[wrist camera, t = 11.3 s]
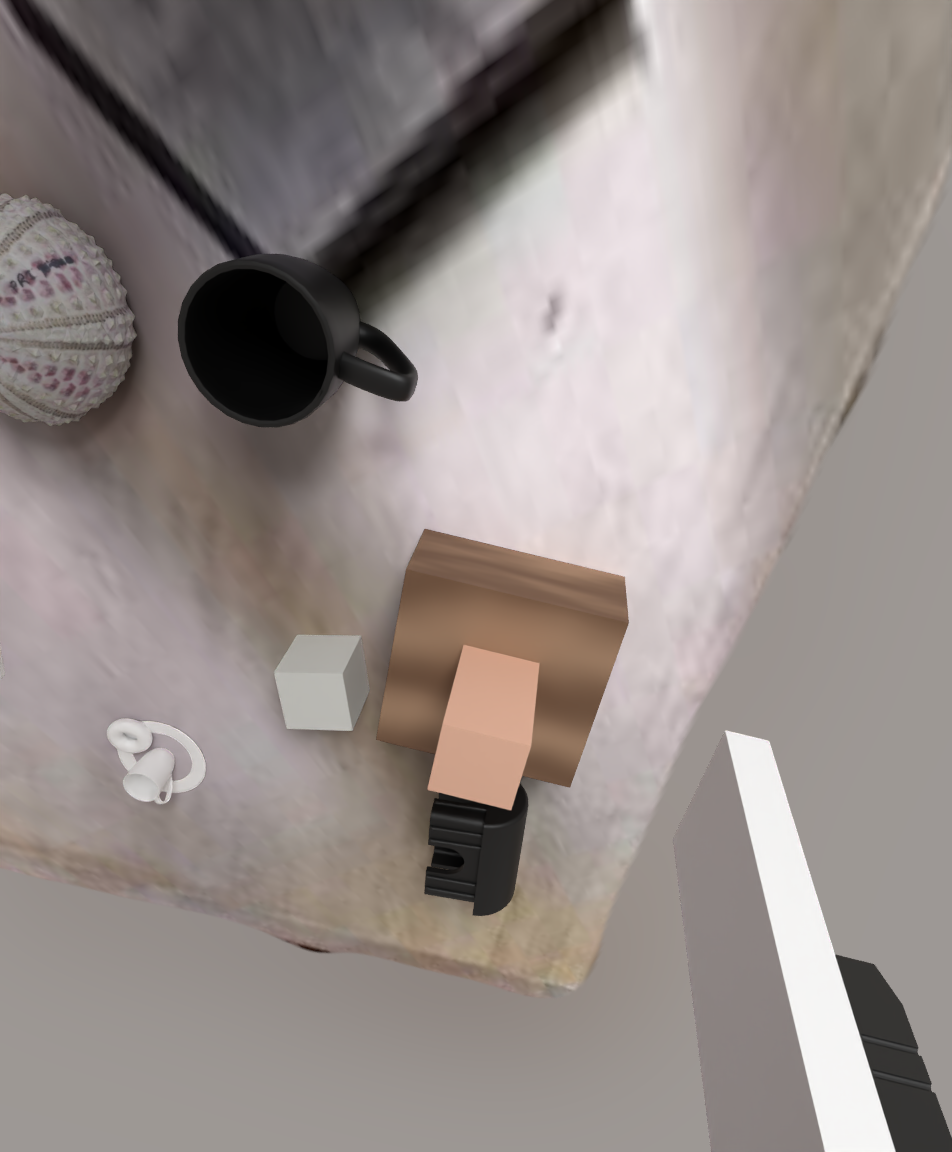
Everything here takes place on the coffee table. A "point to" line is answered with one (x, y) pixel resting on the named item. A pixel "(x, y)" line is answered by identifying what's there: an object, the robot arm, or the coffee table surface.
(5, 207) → the sea urchin shell
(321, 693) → the grey cube
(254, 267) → the mug
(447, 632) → the walnut block
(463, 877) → the end cap
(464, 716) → the terracotta block
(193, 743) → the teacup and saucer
